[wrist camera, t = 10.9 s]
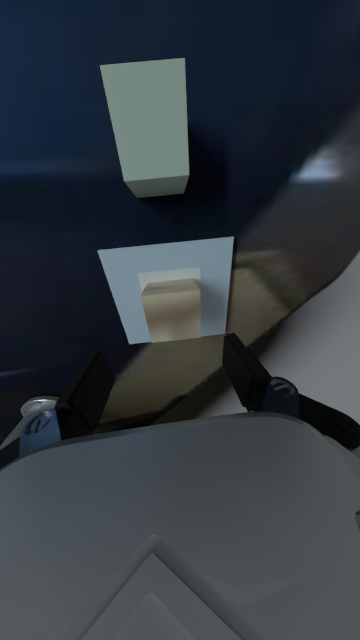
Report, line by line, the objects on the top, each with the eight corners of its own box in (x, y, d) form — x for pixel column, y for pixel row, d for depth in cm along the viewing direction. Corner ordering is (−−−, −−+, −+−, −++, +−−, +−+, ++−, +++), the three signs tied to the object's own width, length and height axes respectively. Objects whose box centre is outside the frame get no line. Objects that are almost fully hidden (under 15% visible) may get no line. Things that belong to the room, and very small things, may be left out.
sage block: (183, 193, 15) (189, 174, 11) (137, 198, 15) (124, 181, 11) (179, 120, 13) (184, 58, 8) (124, 125, 13) (99, 65, 8)
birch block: (194, 317, 21) (200, 337, 17) (155, 321, 21) (151, 342, 17) (192, 278, 18) (199, 289, 14) (147, 282, 18) (140, 296, 14)
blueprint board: (222, 330, 24) (225, 334, 23) (131, 340, 24) (129, 344, 23) (230, 236, 17) (234, 236, 16) (101, 249, 17) (97, 250, 16)
